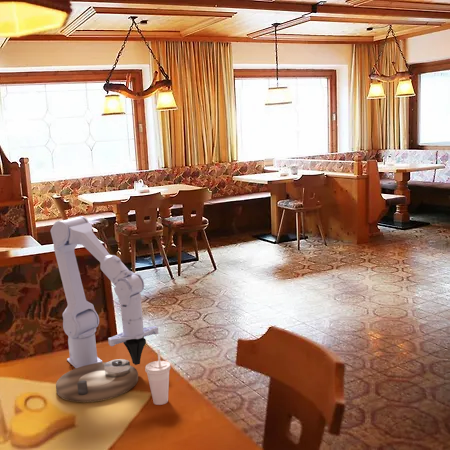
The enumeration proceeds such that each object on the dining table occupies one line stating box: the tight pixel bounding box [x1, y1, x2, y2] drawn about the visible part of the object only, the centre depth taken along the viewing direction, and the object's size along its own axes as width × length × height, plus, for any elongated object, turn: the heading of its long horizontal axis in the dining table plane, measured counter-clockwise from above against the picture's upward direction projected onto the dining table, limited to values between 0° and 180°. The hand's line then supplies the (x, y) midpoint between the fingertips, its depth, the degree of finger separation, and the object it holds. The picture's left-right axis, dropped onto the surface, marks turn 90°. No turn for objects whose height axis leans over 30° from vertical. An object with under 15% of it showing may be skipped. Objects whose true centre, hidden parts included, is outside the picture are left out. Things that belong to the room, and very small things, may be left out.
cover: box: [104, 358, 131, 377], centre depth 164 cm, size 7×7×3 cm
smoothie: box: [144, 348, 171, 406], centre depth 149 cm, size 6×6×14 cm
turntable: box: [55, 361, 139, 403], centre depth 161 cm, size 22×22×4 cm
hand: (136, 363), depth 168 cm, fingers closed
